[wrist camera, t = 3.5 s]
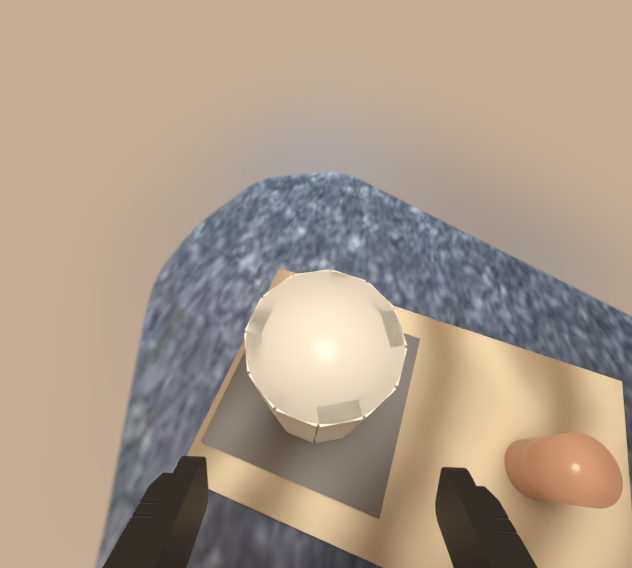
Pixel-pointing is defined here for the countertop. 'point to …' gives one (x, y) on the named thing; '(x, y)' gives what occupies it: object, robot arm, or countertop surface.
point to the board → (425, 452)
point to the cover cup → (324, 353)
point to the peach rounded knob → (565, 470)
